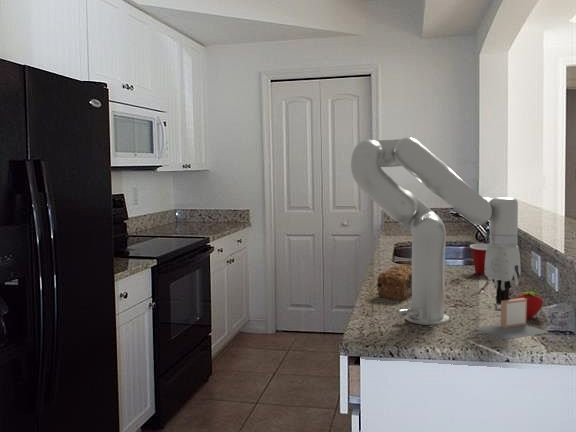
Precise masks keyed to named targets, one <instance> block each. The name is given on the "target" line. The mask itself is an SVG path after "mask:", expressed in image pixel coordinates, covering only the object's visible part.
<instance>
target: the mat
mask: <svg viewBox="0 0 576 432" xmlns="http://www.w3.org/2000/svg"><path fill="white" fill-rule="evenodd" d="M472 329H474V330H477V331H479V332H482V333H485V334H487V335H490V336H493V337H496V338H498V339H500V340H503V341H505V340H506V341H507V340H512V339H513V340H514V339H517V338H523V337H529V336H530V337H531V336H536V335H543V334H547V333H550V332H549V331H546V330H543V329H541V328H537V327H534V326H531V325H528V324H526V325H521V326H515V327H509V328H503V327H501V323H498V324H491V325H486V326H479V327H473V328H472Z"/></svg>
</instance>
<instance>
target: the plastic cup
mask: <svg viewBox="0 0 576 432" xmlns="http://www.w3.org/2000/svg"><path fill="white" fill-rule="evenodd" d="M488 244H489V243H474V244H470V245H469V248H470V249H471V253H472V260H473V264H474V272H475V274H477V275H484V276H486V275H485V273H484V268H485V256H486V250H487V245H488Z"/></svg>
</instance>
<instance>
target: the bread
mask: <svg viewBox="0 0 576 432" xmlns="http://www.w3.org/2000/svg"><path fill="white" fill-rule="evenodd" d="M376 281H377V284H376V285H377V296H378V297H379V298H383V299H386V300H387V299H393V300H395V301H403V300H404V301H406V300H408V299H409V298H411V297H412V264H408V263H402V264H401V263H399V264H397V265H394V266H391V267H390V268H388V269H387V270H385V271H382V272H381V273H380V274H379V275H378V277H377V280H376ZM410 296H411V297H410ZM407 298H408V299H407Z"/></svg>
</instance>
